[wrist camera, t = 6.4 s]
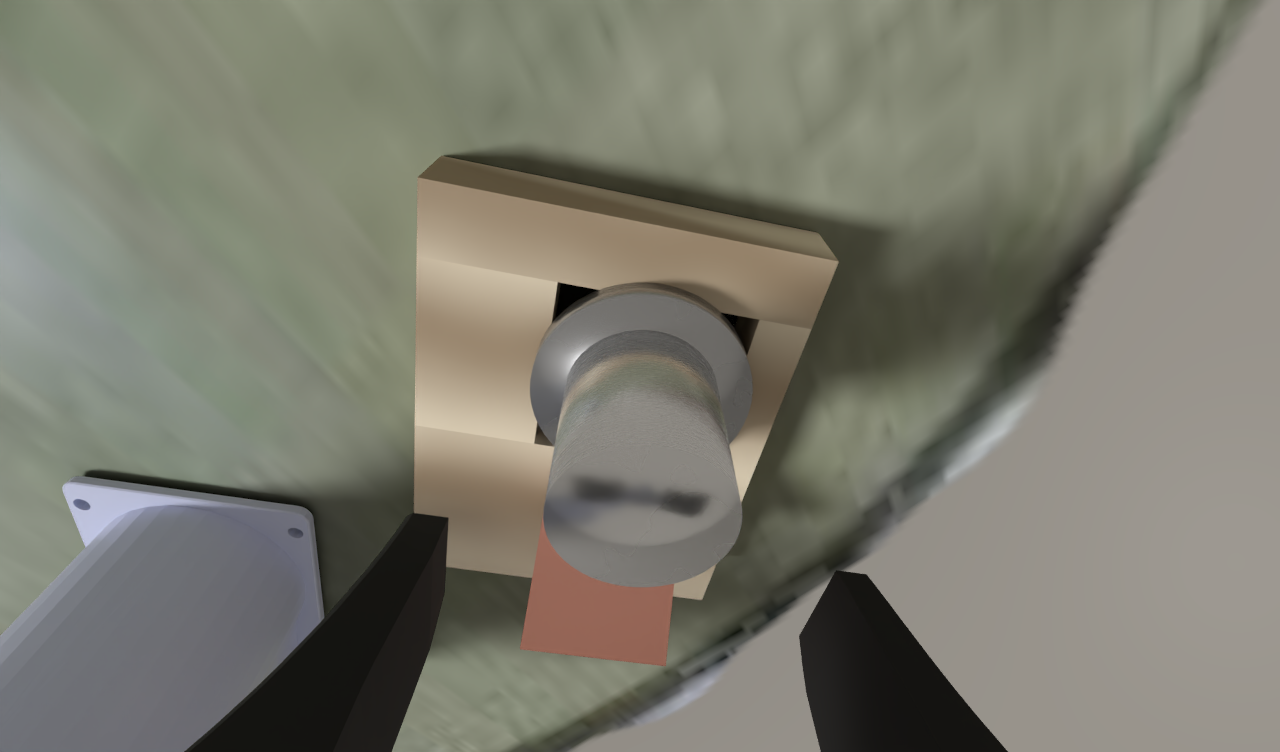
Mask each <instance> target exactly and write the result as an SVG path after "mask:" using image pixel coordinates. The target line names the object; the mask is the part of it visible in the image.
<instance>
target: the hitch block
mask: <svg viewBox="0 0 1280 752" xmlns="http://www.w3.org/2000/svg"><path fill="white" fill-rule="evenodd" d="M838 263H839V261H838V260H837V258H836V257H835V255H834V254H833V253H832V251H831V250H830V248H829V247H828V246H827V244H826V243H825V241H824V240H823V239H822V237H821V236H820V234H819V233H816V232H812V231H807V230H802V229H797V228H792V227H787V226H782V225H777V224H772V223H768V222H763V221H758V220H753V219H748V218H743V217H738V216H733V215H728V214H724V213H719V212H714V211H709V210H704V209H699V208H694V207H689V206H684V205H680V204H675V203H670V202H665V201H660V200H655V199H650V198H645V197H641V196H636V195H631V194H626V193H621V192H616V191H611V190H606V189H601V188H597V187H592V186H587V185H582V184H577V183H572V182H567V181H562V180H557V179H553V178H548V177H543V176H538V175H533V174H528V173H523V172H518V171H514V170H509V169H504V168H499V167H494V166H489V165H484V164H479V163H474V162H470V161H465V160H460V159H455V158H450V157H445V156H441V157H439V158H438V159H437V160H436V161H435V162H434V163H433V164H432V165H431V166H430V167H429V168H427V169H426V170H425V171H424V172H423V173H422V174H421V175H420V176H419V177H418V195H417V282H416V369H415V456H414V513H419V514H426V515H433V516H441V517H448V518H449V521H448V539H447V557H446V567H451V568H458V569H466V570H474V571H481V572H489V573H497V574H505V575H512V576H520V577H528V578H532V576H533V570H534V564H535V559H536V553H537V547H538V541H539V535H540V529H541V524H542V518H543V512H544V504H545V498H546V493H547V487H548V481H549V475H550V470H551V464H552V458H553V453H554V446H553V444H552V443H551V442H550V441H549V440H548V438H547V437H546V436H545V434H544V433H543V431H542V430H541V428H540V427H539V424H538V422H537V420H536V418H535V416H534V412H533V409H532V405H531V398H530V378H531V374H532V369H533V365H534V361H535V357H536V353H537V350H538V347H539V345H540V342H541V340H542V338H543V336H544V334H545V332H546V331H547V329H548V328H549V326H550V325H551V324H552V322H553V321H554V320H555V318H556V312H557V305H558V299H559V292H560V285H561V283H565V284H570V285H575V286H581V287H586V288H591V289H597V290H600V289H603V288H606V287H610V286H614V285H618V284H626V283H646V282H649V283H657V284H665V285H669V286H673V287H677V288H680V289H683V290H686V291H688V292H691V293H693V294H695V295H697V296H699V297H701V298H702V299H704V300H706V301H707V302H709V303H710V304H711V305H713V306H714V307H716V308H717V309H718V310H719V311H720V312H721V313H726V314H732V315H737V316H738V318H737V321H736V324H735V327H734V328H735V330H736V331H737V333H738V335H739V337H740V339H741V341H742V344H743V346H744V349H745V352H746V355H747V359H748V362H749V366H750V370H751V375H752V384H753V394H752V402H751V406H750V410H749V413H748V416H747V418H746V420H745V423H744V425H743V427H742V428H741V430H740V431H739V433H738V435H737V436H736V437H735V438H734V440H733V441H732V442H731V443H730V444H729V445H730V450H731V455H732V460H733V465H734V470H735V475H736V480H737V485H738V490H739V495H740V500H741V502H742V500H743V497H744V495H745V492H746V490H747V487H748V485H749V482H750V480H751V478H752V475H753V473H754V470H755V468H756V465H757V463H758V460H759V458H760V455H761V453H762V450H763V448H764V445H765V443H766V440H767V438H768V436H769V433H770V431H771V428H772V426H773V423H774V421H775V418H776V416H777V413H778V411H779V408H780V406H781V403H782V401H783V399H784V396H785V394H786V391H787V389H788V386H789V384H790V381H791V379H792V376H793V374H794V371H795V369H796V366H797V364H798V361H799V359H800V357H801V354H802V352H803V349H804V347H805V344H806V342H807V339H808V337H809V334H810V332H811V329H812V327H813V324H814V322H815V320H816V317H817V315H818V312H819V310H820V307H821V305H822V302H823V300H824V297H825V295H826V292H827V290H828V287H829V285H830V282H831V280H832V278H833V275H834V273H835V270H836V268H837V265H838ZM715 566H716V564H715V565H714V566H713V567H711V568H710V569H708V570H707V571H705V572H703V573H701V574H699V575H697V576H695V577H693V578H690V579H687V580H685V581H682V582H678V583H674V590H673V596H674V597H681V598H689V599H697V600H702V598H703V596H704V594H705V591H706V589H707V586H708V584H709V581H710V579H711V576H712V574H713V571H714V569H715Z"/></svg>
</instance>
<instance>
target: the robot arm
mask: <svg viewBox="0 0 1280 752" xmlns="http://www.w3.org/2000/svg"><path fill="white" fill-rule="evenodd" d="M63 493H64V495H65V498H66V500H67V502H68V505H69V507H70V510H71V512H72V515H73V517H74V520H75V522H76V525H77V527H78V530H79V532H80V535H81V537H82V540H83V542H84V544H85V547H86V548H85V549H84V550H83V551H82V552H81V553H80V554H79V555H78V556H77V557H76V558H75V559H74V560H73V561H72V562H71V563H70V564H69V565H68V566H67V567H66V568H65V569H64V570H63V571H62V572H61V573H60V574H59V576H58V577H57V578H56V579H55V580H54V581H53V582H52V583H51V584H50V585H49V586H48V587H47V588H46V589H45V590H44V591H43V592H42V593H41V594H40V595H39V596H38V597H37V598H36V599H35V600H34V601H33V602H32V603H31V604H30V606H29V607H28V608H27V609H26V610H25V611H24V612H23V613H22V614H21V615H20V616H19V617H18V618H17V619H16V620H15V621H14V622H13V623H12V624H11V625H10V626H9V627H8V628H7V629H6V630H5V631H4V632H3V633H2V635H1V636H0V752H392V749H393V746H394V744H395V741H396V738H397V736H398V733H399V730H400V728H401V725H402V722H403V720H404V717H405V714H406V712H407V709H408V706H409V704H410V701H411V698H412V696H413V693H414V690H415V688H416V685H417V682H418V680H419V677H420V674H421V672H422V669H423V666H424V663H425V661H426V658H427V655H428V653H429V650H430V646H431V642H432V639H433V635H434V631H435V627H436V624H437V620H438V616H439V612H440V608H441V604H442V601H443V597H444V593H445V575H446V557H447V539H448V521H449V518H448V517H441V516H433V515H426V514H419V513H412V514H410V515H408V516H407V517H406V518H405V520H404V521H403V522H402V524H401V525H400V527H399V528H398V530H397V531H396V532H395V534H394V535H393V536H392V538H391V539H390V540H389V542H388V543H387V544H386V546H385V547H384V548H383V550H382V551H381V552H380V553H379V555H378V556H377V557H376V558H375V560H374V561H373V562H372V563H371V565H370V566H369V567H368V568H367V569H366V571H365V572H364V573H363V574H362V576H361V577H360V578H359V579H358V580H357V581H356V583H355V584H354V585H353V586H352V587H351V588H350V589H349V591H348V592H347V593H346V594H345V595H344V596H343V597H342V599H341V600H340V601H339V602H338V603H337V604H336V605H335V607H334V608H333V609H332V610H331V611H330V612H329V613H328V614H327V616H326V617H325V618H324V609H323V600H322V591H321V582H320V573H319V564H318V555H317V546H316V537H315V528H314V519H313V516H312V514H311V512H310V511H309V510H307V509H306V508H304V507H301V506H296V505H288V504H281V503H274V502H266V501H259V500H252V499H245V498H237V497H230V496H223V495H216V494H208V493H201V492H194V491H186V490H179V489H172V488H165V487H157V486H150V485H143V484H135V483H128V482H121V481H114V480H106V479H99V478H92V477H85V476H75V477H72V478H71V479H70V480H68V481H67V482H66V483H65V484H64V485H63ZM799 639H800V647H801V655H802V665H803V672H804V679H805V686H806V693H807V697H808V701H809V705H810V710H811V713H812V717H813V721H814V726H815V730H816V734H817V738H818V742H819V746H820V750H821V752H1008V751H1007V750H1006V749H1005V748H1004V747H1003V746H1002V744H1001V743H1000V742H999V741H998V740H997V739H996V738H995V736H994V735H993V734H992V733H991V732H990V730H989V729H988V728H987V727H986V726H985V725H984V724H983V722H982V721H981V720H980V719H979V718H978V717H977V715H976V714H975V713H974V712H973V711H972V709H971V708H970V707H969V706H968V704H967V703H966V702H965V701H964V700H963V698H962V697H961V696H960V695H959V694H958V692H957V691H956V690H955V689H954V687H953V686H952V685H951V684H950V682H949V681H948V680H947V679H946V677H945V676H944V675H943V674H942V672H941V671H940V670H939V668H938V667H937V666H936V665H935V663H934V662H933V661H932V659H931V658H930V657H929V656H928V654H927V653H926V652H925V650H924V649H923V648H922V646H921V645H920V644H919V643H918V641H917V640H916V639H915V637H914V636H913V635H912V633H911V632H910V631H909V629H908V628H907V627H906V625H905V624H904V623H903V621H902V620H901V619H900V618H899V616H898V615H897V614H896V612H895V611H894V610H893V608H892V607H891V606H890V604H889V603H888V602H887V600H886V599H885V598H884V596H883V595H882V594H881V593H880V591H879V590H878V589H877V587H876V586H875V585H874V583H873V582H872V581H871V580H870V579H869V577H868V576H867V575H866V574H859V573H851V572H844V571H837V570H836V572H835V573H834V575H833V577H832V579H831V580H830V582H829V584H828V586H827V588H826V590H825V591H824V593H823V595H822V596H821V598H820V600H819V602H818V604H817V605H816V607H815V609H814V611H813V613H812V614H811V616H810V618H809V620H808V622H807V623H806V625H805V627H804V629H803V631H802V632H801V634H800V636H799Z"/></svg>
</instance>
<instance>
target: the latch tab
mask: <svg viewBox="0 0 1280 752" xmlns="http://www.w3.org/2000/svg"><path fill="white" fill-rule="evenodd" d="M673 590H674V584H670V585H664V586H657V587H627V586H620V585H614V584H610V583H606V582H602V581H600V580H597V579H594V578H591V577H589V576H587V575H585V574H583V573H581V572H580V571H578V570H576V569H575V568H573V567H572V566H571V565H569V564H568V563H567V562H566V561H564V560H563V559H562V558H561V557H560V556H559V554H558V553H557V552H556V551H555V549H554V548H553V547H552V545H551V543H550V541H549V539H548V537H547V535H546V532H545V528H544V521H543V518H542V524H541V529H540V535H539V541H538V547H537V553H536V559H535V564H534V570H533V576H532V582H531V588H530V594H529V599H528V605H527V611H526V617H525V623H524V628H523V634H522V640H521V646H520V649H523V650H531V651H540V652H548V653H557V654H566V655H574V656H583V657H591V658H600V659H608V660H617V661H626V662H634V663H643V664H651V665H660V666H666V657H667V647H668V638H669V628H670V619H671V609H672V599H673Z"/></svg>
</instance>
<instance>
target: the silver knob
mask: <svg viewBox="0 0 1280 752" xmlns="http://www.w3.org/2000/svg"><path fill="white" fill-rule="evenodd" d="M752 394H753V384H752V375H751V370H750V366H749V362H748V359H747V355H746V352H745V349H744V346H743V344H742V341H741V339H740V337H739V335H738V333H737V331H736V330H735V328H734V327H733V325H732V324H731V323H730V322H729V320H728V319H727V318H726V317H725V316H724V315H723V314H722V313H721V312H720V311H719V310H718V309H717V308H716V307H714V306H713V305H711V304H710V303H709V302H707V301H706V300H704V299H702V298H701V297H699V296H697V295H695V294H693V293H691V292H688V291H686V290H683V289H680V288H677V287H673V286H669V285H665V284H657V283H649V282H646V283H626V284H618V285H614V286H610V287H606V288H603V289H600V290H597V291H595V292H592V293H590V294H588V295H586V296H584V297H582V298H580V299H579V300H577V301H575V302H574V303H573V304H571V305H570V306H569V307H567V308H566V309H565V310H564V311H563V312H562V313H561V314H560V315H559V316H557V317H556V318H555V320H554V321H553V322H552V324H551V325H550V326H549V328H548V329H547V331H546V332H545V334H544V336H543V338H542V340H541V342H540V345H539V347H538V350H537V353H536V357H535V361H534V365H533V369H532V374H531V378H530V398H531V405H532V409H533V412H534V416H535V418H536V420H537V422H538V424H539V427H540V428H541V430H542V431H543V433H544V434H545V436H546V437H547V438H548V440H549V441H550V442H551V443H552V444H553V446H554V453H553V458H552V464H551V470H550V475H549V481H548V487H547V493H546V498H545V504H544V512H543V521H544V528H545V532H546V535H547V537H548V539H549V541H550V543H551V545H552V547H553V548H554V549H555V551H556V552H557V553H558V554H559V556H560V557H561V558H562V559H563V560H564V561H566V562H567V563H568V564H569V565H571V566H572V567H573V568H575V569H576V570H578V571H580V572H581V573H583V574H585V575H587V576H589V577H591V578H594V579H597V580H600V581H602V582H606V583H610V584H614V585H620V586H627V587H657V586H664V585H670V584H674V583H678V582H682V581H685V580H687V579H690V578H693V577H695V576H697V575H699V574H701V573H703V572H705V571H707V570H708V569H710V568H711V567H713V566H714V565H715V564H717V563H718V562H719V561H720V560H722V558H723V557H724V556H725V555H726V554H727V553H728V552H729V551H730V549H731V548H732V547H733V545H734V544H735V542H736V540H737V538H738V536H739V533H740V529H741V526H742V518H743V516H742V505H741V500H740V495H739V490H738V485H737V480H736V475H735V470H734V465H733V460H732V455H731V450H730V445H729V444H730V443H731V442H732V441H733V440H734V438H735V437H736V436H737V435H738V433H739V431H740V430H741V428H742V427H743V425H744V423H745V420H746V418H747V416H748V413H749V410H750V406H751V402H752Z"/></svg>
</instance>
